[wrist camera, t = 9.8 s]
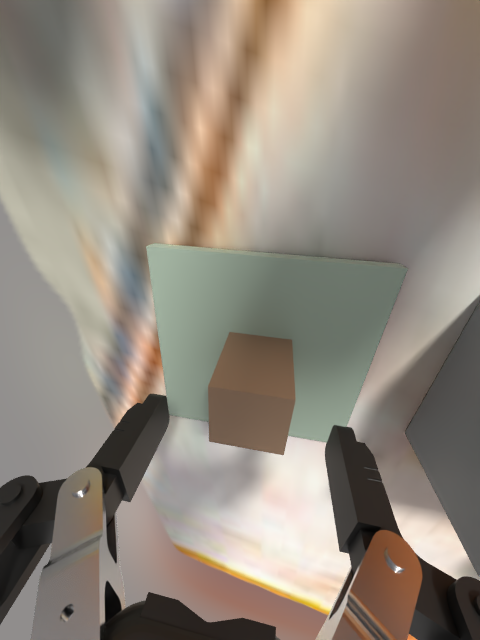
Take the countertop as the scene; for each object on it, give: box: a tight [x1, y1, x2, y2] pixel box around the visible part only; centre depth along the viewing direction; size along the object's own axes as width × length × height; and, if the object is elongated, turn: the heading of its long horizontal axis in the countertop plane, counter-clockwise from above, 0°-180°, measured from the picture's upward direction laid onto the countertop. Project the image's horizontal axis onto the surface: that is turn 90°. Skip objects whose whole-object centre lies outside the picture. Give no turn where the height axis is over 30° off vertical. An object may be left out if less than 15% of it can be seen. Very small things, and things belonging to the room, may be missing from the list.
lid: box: [146, 243, 408, 455], centre depth 15 cm, size 14×14×7 cm
